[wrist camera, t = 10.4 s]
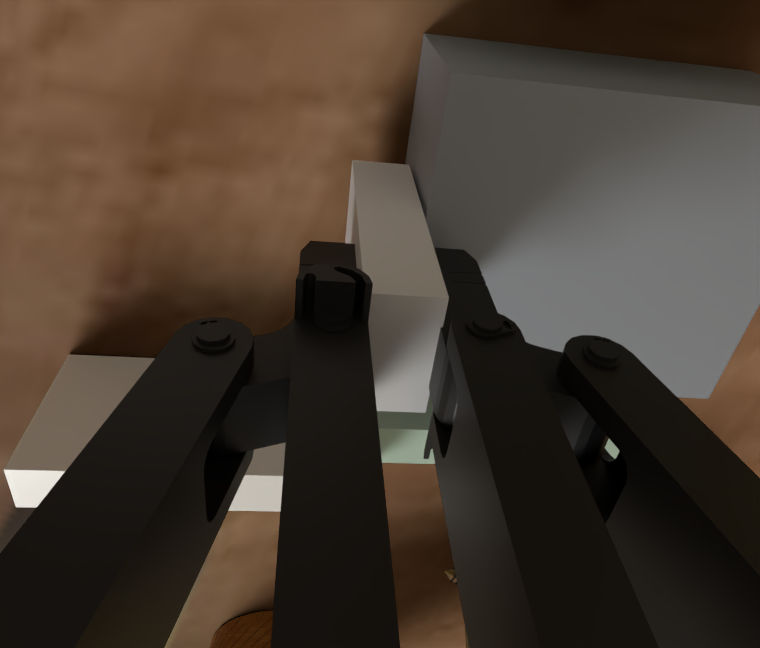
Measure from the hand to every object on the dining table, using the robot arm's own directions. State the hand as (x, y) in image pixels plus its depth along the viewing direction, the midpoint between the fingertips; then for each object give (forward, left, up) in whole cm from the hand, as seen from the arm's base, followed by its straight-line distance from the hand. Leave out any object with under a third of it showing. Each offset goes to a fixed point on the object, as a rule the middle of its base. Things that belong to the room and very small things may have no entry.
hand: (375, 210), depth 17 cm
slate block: (+5, 0, -2) cm, 6 cm away
